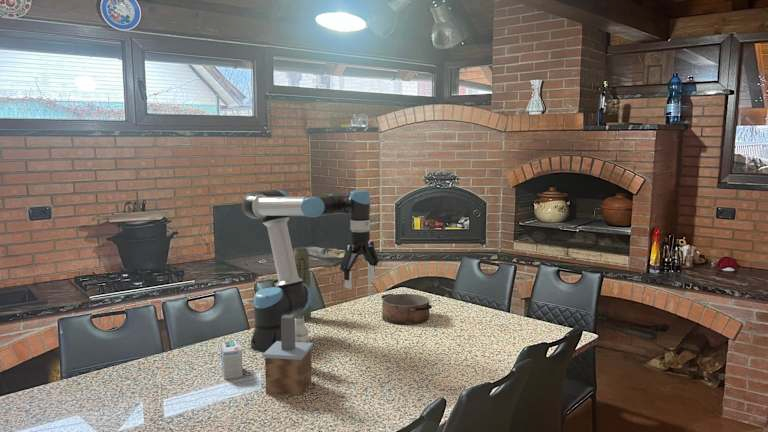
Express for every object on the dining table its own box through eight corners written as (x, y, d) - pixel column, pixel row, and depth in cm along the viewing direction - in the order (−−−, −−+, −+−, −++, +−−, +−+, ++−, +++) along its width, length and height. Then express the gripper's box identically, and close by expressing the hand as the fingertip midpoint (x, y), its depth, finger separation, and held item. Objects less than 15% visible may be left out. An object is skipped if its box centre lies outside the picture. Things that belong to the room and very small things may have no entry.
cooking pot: (368, 318, 274) (367, 297, 273) (402, 310, 288) (402, 290, 287) (409, 334, 251) (409, 310, 250) (444, 324, 265) (445, 302, 264)
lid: (263, 360, 184) (262, 321, 183) (276, 346, 197) (276, 310, 196) (301, 362, 182) (300, 323, 181) (312, 348, 195) (312, 311, 194)
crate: (266, 396, 186) (265, 357, 185) (278, 382, 198) (277, 344, 196) (301, 399, 184) (300, 359, 183) (311, 384, 196) (310, 346, 195)
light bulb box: (221, 370, 209) (220, 342, 207) (239, 368, 211) (239, 340, 210) (223, 381, 199) (222, 351, 198) (243, 378, 201) (242, 349, 200)
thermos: (307, 315, 278) (306, 245, 274) (314, 322, 267) (313, 249, 263) (289, 318, 275) (288, 246, 271) (296, 324, 264) (294, 250, 260)
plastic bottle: (292, 374, 205) (291, 320, 203) (290, 367, 211) (289, 315, 209) (310, 372, 207) (309, 319, 204) (307, 365, 213) (306, 314, 211)
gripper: (345, 235, 205) (345, 292, 207) (387, 228, 224) (387, 280, 227) (330, 233, 209) (330, 289, 212) (373, 226, 229) (372, 277, 231)
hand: (359, 284), depth 219 cm, fingers open, 13 cm apart
